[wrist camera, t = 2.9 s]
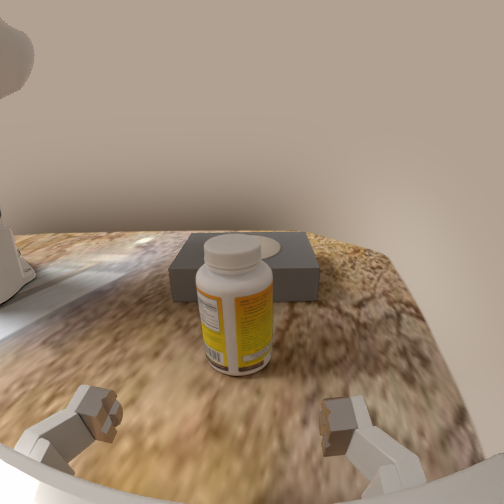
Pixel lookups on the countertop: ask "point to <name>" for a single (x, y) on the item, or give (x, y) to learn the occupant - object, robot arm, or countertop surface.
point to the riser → (273, 254)
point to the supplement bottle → (235, 304)
